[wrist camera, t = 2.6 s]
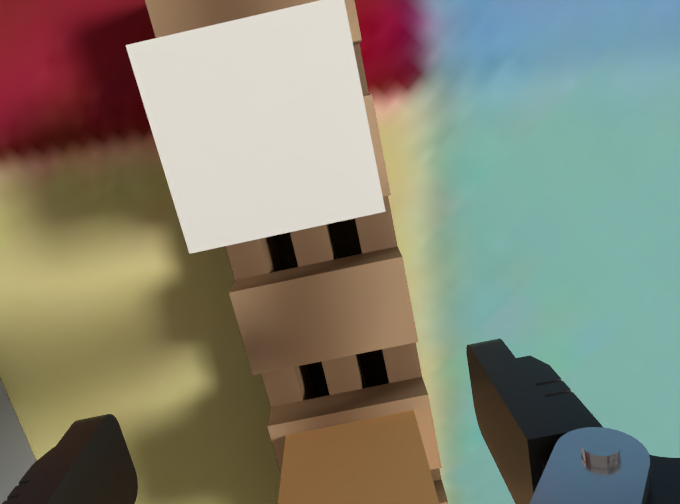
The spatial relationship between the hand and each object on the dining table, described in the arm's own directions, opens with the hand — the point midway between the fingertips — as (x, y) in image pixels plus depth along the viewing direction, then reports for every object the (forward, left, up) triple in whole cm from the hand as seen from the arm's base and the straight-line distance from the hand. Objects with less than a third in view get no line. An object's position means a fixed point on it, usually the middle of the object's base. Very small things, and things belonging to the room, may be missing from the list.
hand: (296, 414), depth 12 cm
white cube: (-1, -6, -6) cm, 8 cm away
